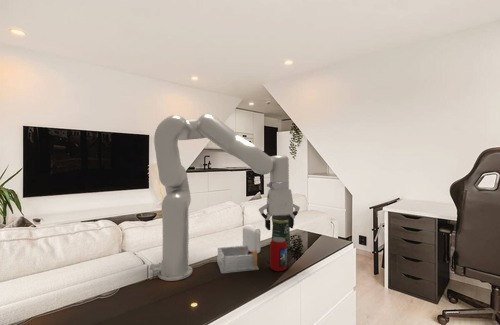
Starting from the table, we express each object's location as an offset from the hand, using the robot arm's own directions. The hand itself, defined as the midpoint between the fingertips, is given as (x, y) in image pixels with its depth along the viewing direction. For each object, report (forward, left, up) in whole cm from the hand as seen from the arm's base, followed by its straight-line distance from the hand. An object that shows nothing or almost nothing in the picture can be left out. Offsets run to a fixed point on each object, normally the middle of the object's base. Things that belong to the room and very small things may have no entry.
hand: (279, 228), depth 104 cm
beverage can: (0, 0, -16) cm, 16 cm away
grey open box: (-15, +8, -16) cm, 24 cm away
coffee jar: (+10, +22, -16) cm, 29 cm away
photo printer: (-5, +23, -17) cm, 29 cm away
